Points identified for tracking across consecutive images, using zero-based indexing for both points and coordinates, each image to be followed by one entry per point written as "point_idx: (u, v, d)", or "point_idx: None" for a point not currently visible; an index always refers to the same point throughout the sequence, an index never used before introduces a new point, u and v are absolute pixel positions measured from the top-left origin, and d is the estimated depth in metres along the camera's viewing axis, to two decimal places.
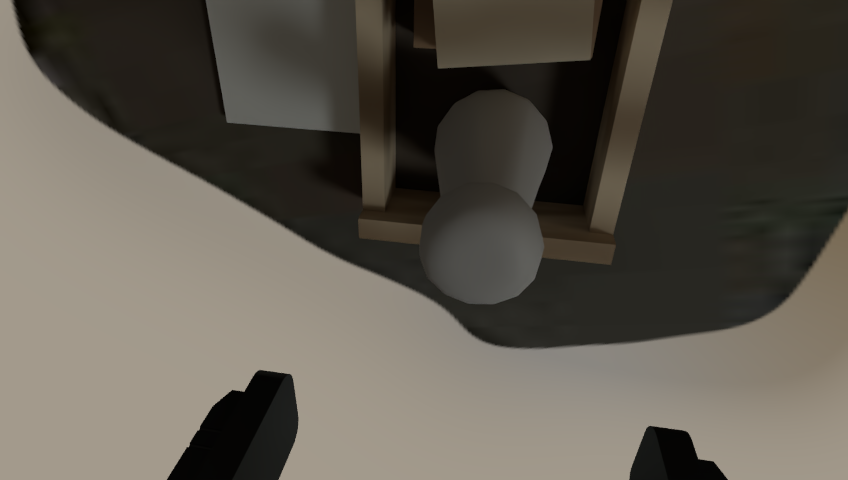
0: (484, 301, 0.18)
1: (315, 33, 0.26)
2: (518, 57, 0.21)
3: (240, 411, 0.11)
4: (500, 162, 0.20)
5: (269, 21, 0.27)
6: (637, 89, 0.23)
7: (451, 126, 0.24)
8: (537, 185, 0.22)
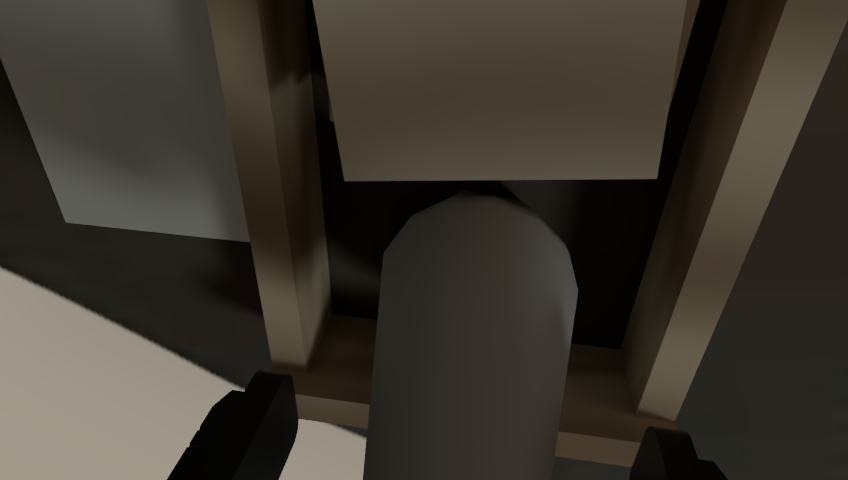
0: None
1: (177, 95, 0.16)
2: (505, 168, 0.10)
3: (240, 411, 0.11)
4: (482, 408, 0.10)
5: (101, 75, 0.16)
6: (739, 214, 0.13)
7: (399, 273, 0.13)
8: (557, 416, 0.11)
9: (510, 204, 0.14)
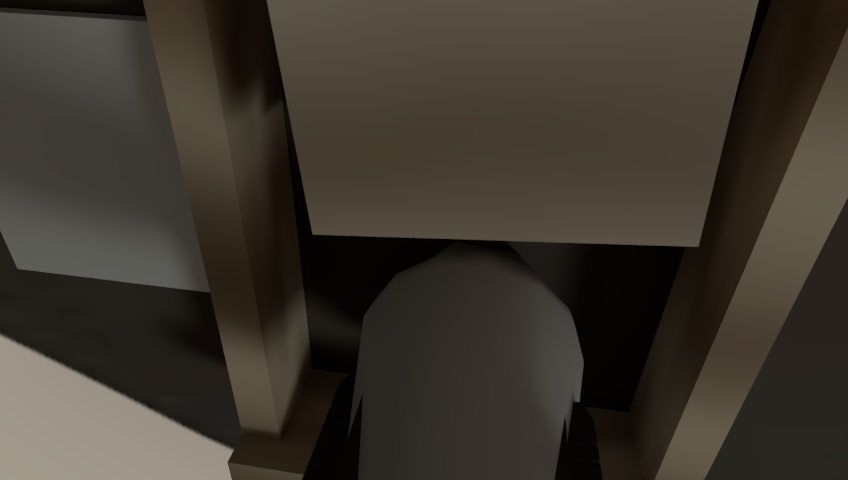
0: None
1: (134, 136, 0.14)
2: (509, 227, 0.08)
3: None
4: None
5: (49, 113, 0.14)
6: (773, 287, 0.11)
7: (378, 349, 0.12)
8: None
9: (507, 266, 0.13)
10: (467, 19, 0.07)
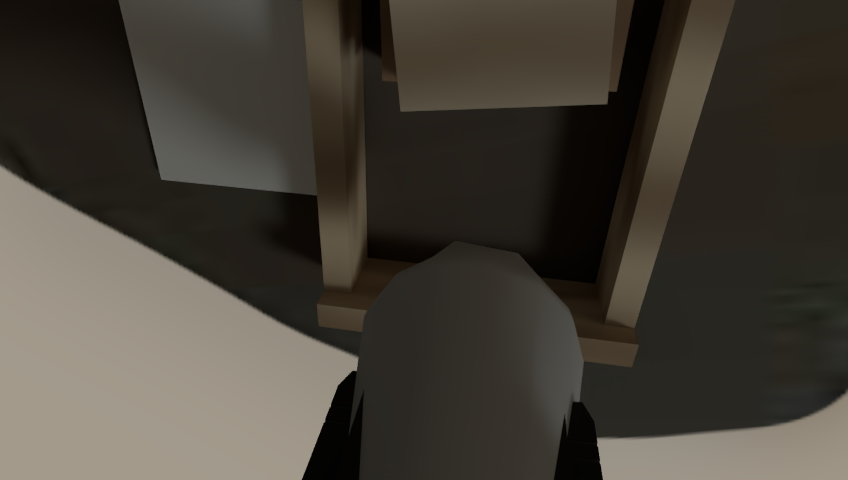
0: None
1: (262, 77, 0.21)
2: (508, 99, 0.15)
3: None
4: None
5: (206, 61, 0.21)
6: (670, 157, 0.18)
7: (379, 348, 0.12)
8: None
9: (507, 265, 0.13)
10: None
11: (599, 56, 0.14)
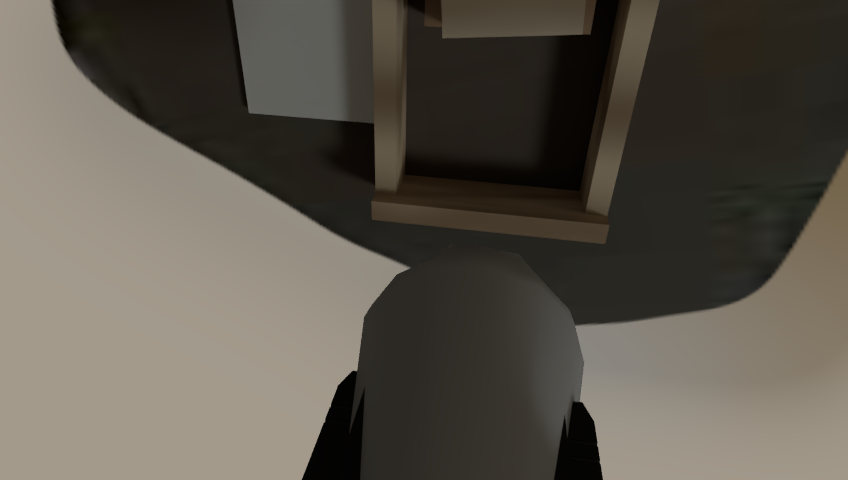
0: None
1: (332, 30, 0.29)
2: (516, 30, 0.23)
3: None
4: None
5: (291, 19, 0.29)
6: (628, 80, 0.26)
7: (379, 350, 0.12)
8: None
9: (507, 266, 0.13)
10: None
11: (577, 1, 0.22)
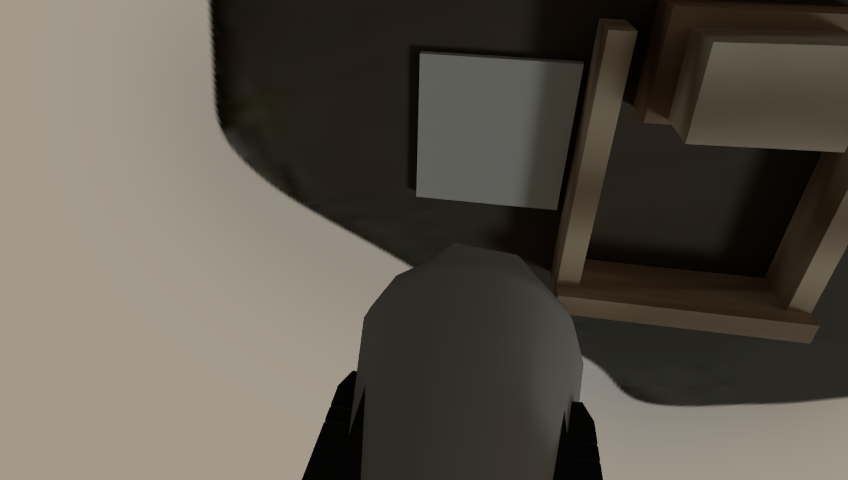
0: None
1: (525, 119, 0.27)
2: (772, 142, 0.21)
3: None
4: None
5: (480, 107, 0.27)
6: None
7: (378, 351, 0.12)
8: None
9: (507, 268, 0.13)
10: (782, 65, 0.20)
11: None
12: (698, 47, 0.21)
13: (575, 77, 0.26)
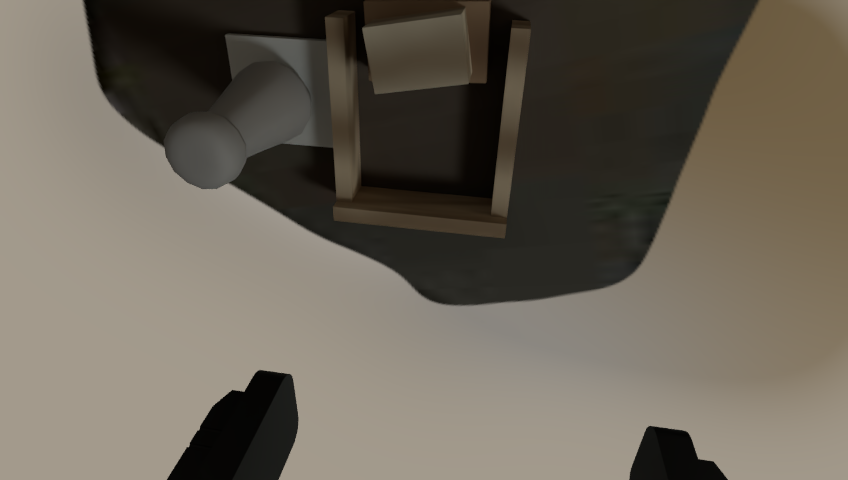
0: (206, 185, 0.30)
1: None
2: (424, 84, 0.33)
3: (240, 411, 0.11)
4: (235, 103, 0.32)
5: None
6: (511, 121, 0.36)
7: (229, 84, 0.35)
8: (272, 121, 0.33)
9: (278, 63, 0.36)
10: (406, 35, 0.31)
11: (461, 62, 0.32)
12: None
13: None
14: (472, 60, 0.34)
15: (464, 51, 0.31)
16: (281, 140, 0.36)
